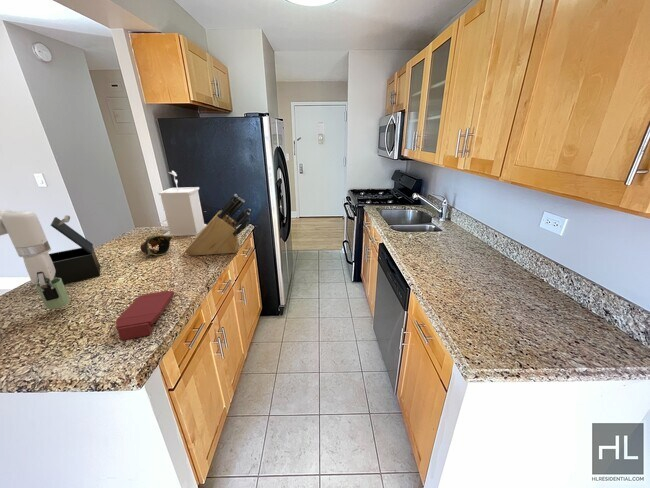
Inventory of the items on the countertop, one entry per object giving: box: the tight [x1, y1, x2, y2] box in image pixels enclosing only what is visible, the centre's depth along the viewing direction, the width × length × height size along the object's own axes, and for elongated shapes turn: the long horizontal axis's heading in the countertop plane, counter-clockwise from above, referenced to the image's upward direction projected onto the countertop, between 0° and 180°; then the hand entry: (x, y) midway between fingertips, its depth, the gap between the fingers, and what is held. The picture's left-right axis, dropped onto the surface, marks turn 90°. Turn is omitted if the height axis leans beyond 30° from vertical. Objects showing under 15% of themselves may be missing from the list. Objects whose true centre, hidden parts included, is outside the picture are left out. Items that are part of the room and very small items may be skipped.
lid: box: [50, 215, 94, 254], centre depth 115 cm, size 17×14×5 cm
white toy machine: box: [158, 170, 207, 237], centre depth 172 cm, size 24×28×40 cm
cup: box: [35, 278, 71, 310], centre depth 93 cm, size 6×6×9 cm
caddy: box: [49, 247, 101, 286], centre depth 117 cm, size 17×14×11 cm
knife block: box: [184, 193, 252, 256], centre depth 139 cm, size 11×35×31 cm, turn 99°
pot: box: [139, 234, 175, 256], centre depth 142 cm, size 17×11×18 cm
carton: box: [115, 290, 175, 341], centre depth 92 cm, size 12×5×25 cm
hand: (54, 294), depth 93 cm, fingers closed on cup, 6 cm apart
